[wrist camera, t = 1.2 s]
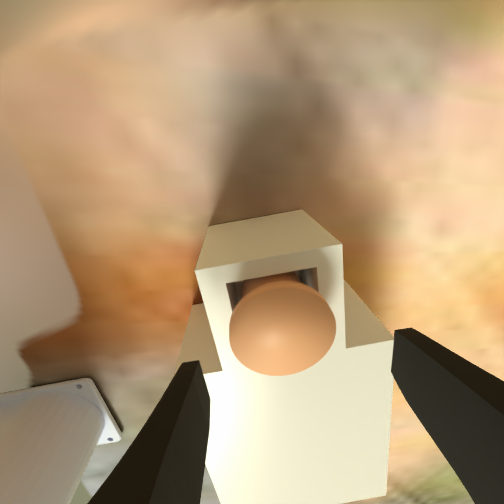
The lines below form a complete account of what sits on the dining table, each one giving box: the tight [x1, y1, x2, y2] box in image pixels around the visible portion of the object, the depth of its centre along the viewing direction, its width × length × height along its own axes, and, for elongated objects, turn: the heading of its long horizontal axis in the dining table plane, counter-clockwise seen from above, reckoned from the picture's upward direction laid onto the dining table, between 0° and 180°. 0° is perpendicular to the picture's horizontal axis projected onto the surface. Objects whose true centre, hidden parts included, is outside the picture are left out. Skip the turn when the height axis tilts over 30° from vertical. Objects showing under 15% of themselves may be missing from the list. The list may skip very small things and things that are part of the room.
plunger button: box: [229, 271, 336, 376], centre depth 13 cm, size 5×5×4 cm
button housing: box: [174, 209, 394, 504], centre depth 18 cm, size 12×21×7 cm, turn 9°
